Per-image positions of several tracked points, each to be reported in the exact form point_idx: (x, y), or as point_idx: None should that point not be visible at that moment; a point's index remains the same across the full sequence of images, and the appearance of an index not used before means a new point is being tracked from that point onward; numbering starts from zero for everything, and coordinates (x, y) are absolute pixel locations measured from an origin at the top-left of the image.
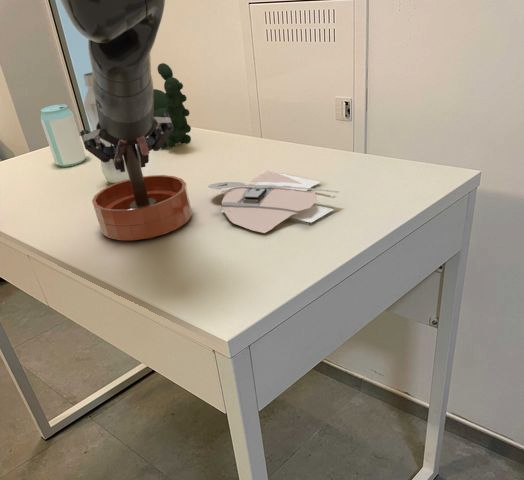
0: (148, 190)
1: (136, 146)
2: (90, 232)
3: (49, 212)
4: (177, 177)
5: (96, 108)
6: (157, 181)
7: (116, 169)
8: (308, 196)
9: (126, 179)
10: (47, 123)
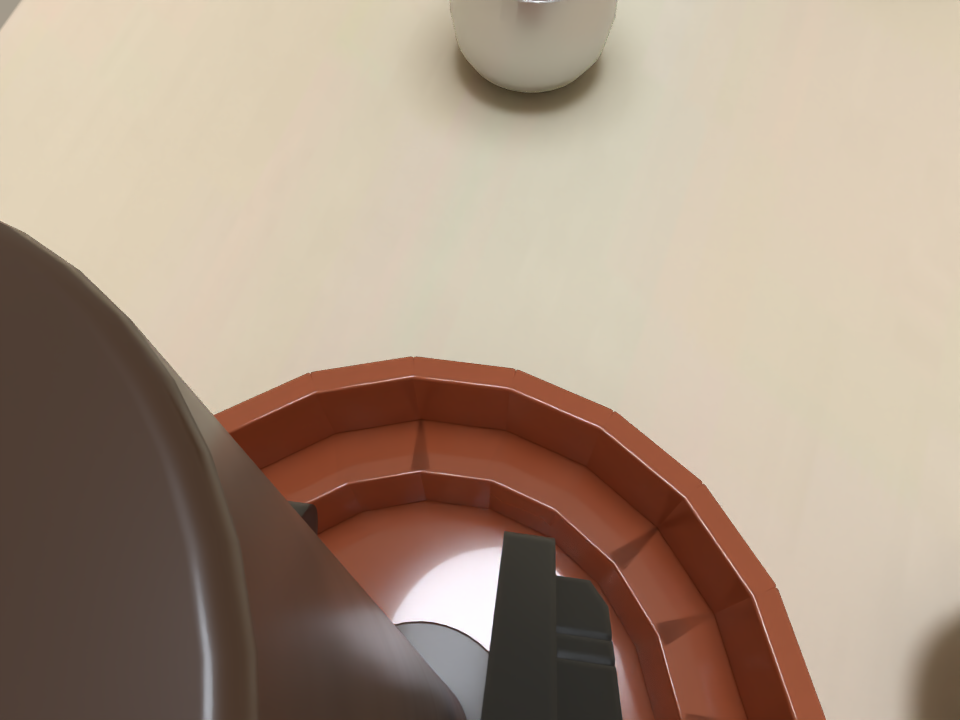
0: (553, 451)
1: (484, 693)
2: None
3: (114, 161)
4: (795, 645)
5: None
6: (633, 478)
7: None
8: None
9: (540, 87)
10: None
